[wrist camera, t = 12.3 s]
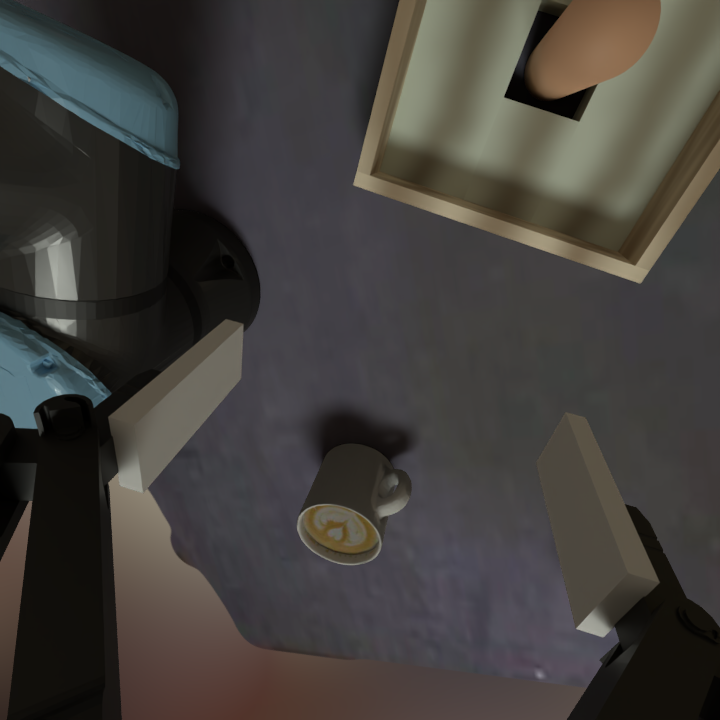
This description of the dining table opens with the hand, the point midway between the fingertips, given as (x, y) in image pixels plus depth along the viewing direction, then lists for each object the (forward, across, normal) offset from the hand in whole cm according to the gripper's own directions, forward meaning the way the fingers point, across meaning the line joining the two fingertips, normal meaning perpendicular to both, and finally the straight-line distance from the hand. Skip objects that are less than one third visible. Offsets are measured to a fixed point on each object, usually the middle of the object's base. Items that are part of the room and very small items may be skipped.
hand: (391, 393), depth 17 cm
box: (+25, +6, +14) cm, 30 cm away
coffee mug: (+26, +1, -30) cm, 40 cm away
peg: (+25, +5, +14) cm, 30 cm away
